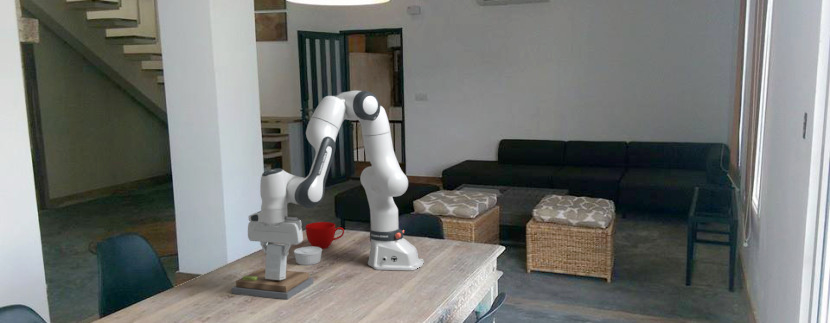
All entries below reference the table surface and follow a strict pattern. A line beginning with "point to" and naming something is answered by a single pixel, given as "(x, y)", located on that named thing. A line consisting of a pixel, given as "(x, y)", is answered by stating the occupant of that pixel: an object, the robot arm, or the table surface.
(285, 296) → the grey rectangular slab
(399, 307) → the table surface
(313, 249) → the ramekin
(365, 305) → the table surface
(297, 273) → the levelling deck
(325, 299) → the table surface
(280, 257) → the skincare box
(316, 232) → the ceramic cup
